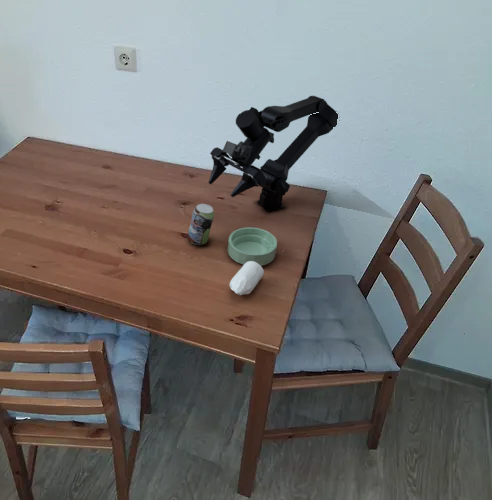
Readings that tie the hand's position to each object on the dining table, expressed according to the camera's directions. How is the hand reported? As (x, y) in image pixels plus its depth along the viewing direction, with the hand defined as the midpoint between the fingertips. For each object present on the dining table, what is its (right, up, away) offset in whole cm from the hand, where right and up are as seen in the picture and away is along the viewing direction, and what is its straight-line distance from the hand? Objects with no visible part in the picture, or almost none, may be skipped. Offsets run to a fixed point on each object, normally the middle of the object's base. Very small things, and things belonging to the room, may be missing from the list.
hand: (220, 189), depth 156 cm
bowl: (+9, -18, -1) cm, 20 cm away
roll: (+4, -28, -13) cm, 31 cm away
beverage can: (-6, -15, +5) cm, 17 cm away
